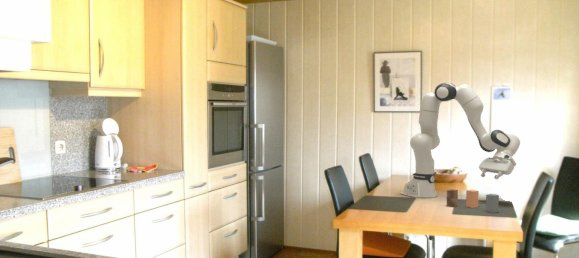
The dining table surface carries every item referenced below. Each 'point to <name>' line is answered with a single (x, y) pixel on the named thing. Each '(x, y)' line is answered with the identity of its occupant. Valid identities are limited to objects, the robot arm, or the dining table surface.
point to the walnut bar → (452, 198)
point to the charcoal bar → (492, 203)
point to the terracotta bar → (472, 198)
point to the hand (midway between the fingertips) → (488, 177)
